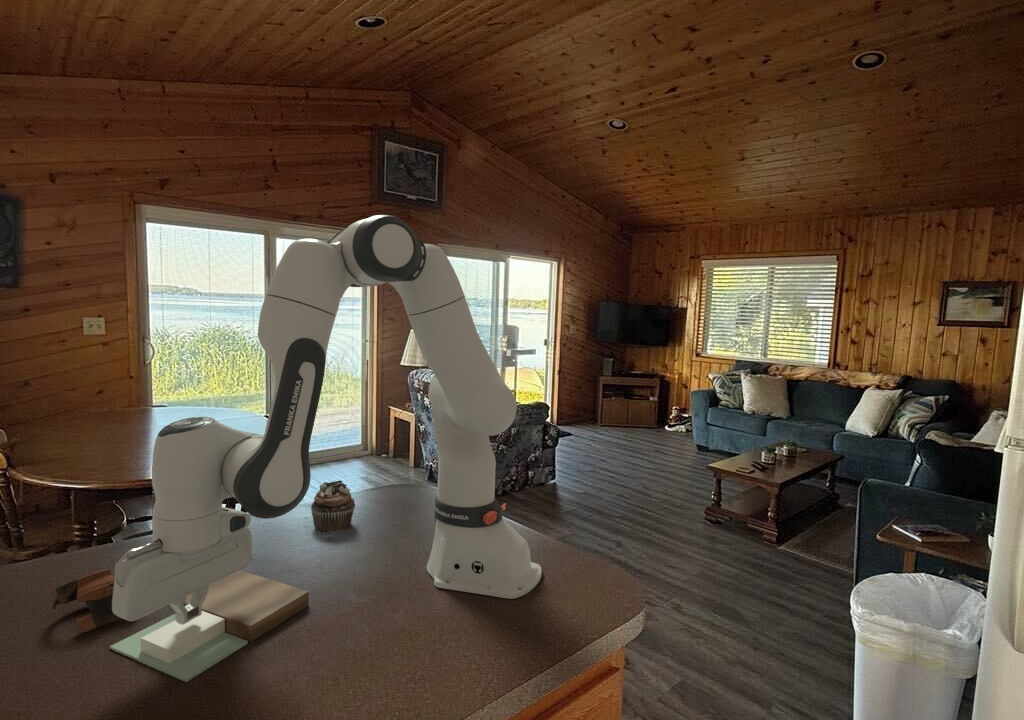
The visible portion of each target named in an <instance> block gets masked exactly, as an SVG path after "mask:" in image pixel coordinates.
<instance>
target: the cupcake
mask: <svg viewBox="0 0 1024 720" xmlns="http://www.w3.org/2000/svg"><path fill="white" fill-rule="evenodd" d="M347 486H348V485H347V484H345V483H344V482H343V481H342V480H335V481H332V482H326V481H324V482H323V483H321V484H319V487H318V488H319V491H318V492H317V493H316V494H315V495H314V497H313V502H312V504H311V507H310V510H311V516H312V521H313V526H314V529H315V530H316V531H317V530H318V531H317V532H319V531H320V533H323V532H325V533H324V534H333V533H332V532H337V533H339V532H338V531H341V532H343V531H342V530H344V531H346V530H345V529H347V528H348V529H350V528H351V526H352V519H353V514H354V512H355V508H356V504H355V499H354V498H353V497H352V494H351V491H350V487H347ZM349 527H350V528H349ZM348 529H347V530H348ZM327 532H328V533H327Z"/></svg>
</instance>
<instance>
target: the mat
mask: <svg viewBox="0 0 1024 720" xmlns="http://www.w3.org/2000/svg"><path fill="white" fill-rule="evenodd" d="M175 620H176V613H174V614H172V615H169V616H168V617H166V618H164V619H161V620H160V621H158V622H156V623H154V624H152V625H150V626H148V627H146V628H144V629H142V630H140V631H137V632H135V633H134V634H132V635H130V636H128V637H126V638H124V639H121V640H120V641H117V642H116V643H113V644H112V645H110V646H109V649H110V650H111V649H112V650H111V651H113V650H114V652H115V653H118V652H119V653H118V654H121V655H123V656H126V657H127V656H128V657H127V658H129V657H130V659H132V658H133V659H132V660H134V659H135V660H134V661H136V660H137V661H136V662H139V663H141V662H142V663H141V664H143V665H145V664H146V665H145V666H148V667H150V668H153V669H155V670H157V671H160V672H161V673H163V674H166V675H168V676H171V677H173V678H176V679H178V680H180V681H183V682H185V683H188V682H189V681H191V680H193V678H196V677H197V676H199V675H200V674H202V673H203V672H205V671H206V670H208V669H210V668H211V667H213V666H215V665H217V664H218V663H220V661H223V660H224V659H225V658H226V659H227V657H229V656H230V655H232V654H233V653H235V652H237V651H239V650H240V649H242V648H244V647H245V646H247V645H248V642H249V641H246V640H244V639H241V638H238V637H236V636H233V635H230V634H228V633H225V632H223V633H221V634H220V635H218V636H216V637H214V638H213V639H211V640H209V641H207V642H206V643H204V644H202V645H200V646H199V647H197V648H195V649H193V650H192V651H190V652H188V653H186V654H185V655H183V656H181V657H180V658H178V659H176V660H174V661H173V662H171V663H167V662H164V661H162V660H160V659H157V658H155V657H153V656H150V655H148V654H146V653H143V652H141V638H142V637H144V636H146V635H148V634H150V633H151V632H153V631H155V630H157V629H159V628H161V627H163V626H165V625H167V624H169V623H171V622H173V621H175Z"/></svg>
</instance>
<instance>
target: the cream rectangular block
mask: <svg viewBox="0 0 1024 720" xmlns="http://www.w3.org/2000/svg"><path fill="white" fill-rule="evenodd" d="M223 632H224V633H225V619H223V618H221V617H218V616H215V615H212V614H210V613H207V612H204V611H202V614H201V615H200V616H198V617H196V618H194V619H192V620H191V621H189V622H187V623H185V624H183V625H182V624H179V623H177V622H176V620H175V621H173V622H171V623H169V624H167V625H165V626H163V627H161V628H159V629H157V630H155V631H153V632H151V633H150V634H148V635H146V636H144V637H142V638H141V652H143V653H146V654H148V655H150V656H153V657H155V658H157V659H160V660H162V661H164V662H167V663H171V662H173V661H174V660H176V659H178V658H180V657H181V656H183V655H185V654H186V653H188V652H190V651H192V650H193V649H195V648H197V647H199V646H200V645H202V644H204V643H206V642H207V641H209V640H211V639H213V638H214V637H216V636H218V635H220V634H221V633H223Z"/></svg>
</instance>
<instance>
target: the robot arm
mask: <svg viewBox="0 0 1024 720" xmlns="http://www.w3.org/2000/svg"><path fill="white" fill-rule="evenodd" d="M386 283H387V284H390V285H391V286H392V287H394V289H395V290H396V291H397V293H398V295H399V296H400V298H401V301H402V303H403V306H404V309H405V312H406V315H407V318H408V320H409V323H410V325H411V329H412V331H413V334H414V336H415V340H416V342H417V345H418V347H419V350H420V353H421V355H422V357H423V359H424V360H425V361H426V362H427V364H428V366H429V367H430V368H431V369H430V370H431V371H432V373H433V374H434V377H433V378H432V379H431V381H430V384H429V386H428V395H427V396H428V400H429V402H430V405H431V408H432V409H431V410H432V418H433V426H434V435H435V440H436V448H437V456H438V457H437V458H438V463H437V464H438V468H437V470H438V471H437V472H438V473H437V495H436V496H435V498H434V499H435V502H434V521H435V529H434V536H433V542H432V547H431V551H430V555H429V559H428V562H427V564H426V571H427V573H428V574H429V575H430V576H431V577H432V579H433V581H434V582H433V583H434V587H437V588H439V589H444V590H451V591H458V592H465V593H471V594H478V595H484V596H489V597H497V598H502V599H509V600H510V599H511V600H513V599H517V598H520V597H522V596H523V597H524V596H525V595H526V594H528V593H529V592H531V591H532V590H533V589H534V588H535V587H536V586H537V585H538V584H539V582H540V580H541V578H542V575H543V574H542V567H541V565H540V564H539V563H536V562H532V560H531V559H532V558H531V550H530V546H529V543H528V542H527V540H526V539H525V538H524V537H523V536H521V534H519V533H518V531H516V530H515V529H514V528H513V527H512V526H511V525H510V524H509V523H508V522H507V521H506V520H505V519H504V518H503V512H504V511H505V510H506V509H507V508H506V506H507V503H506V502H505V503H503V504H502V505H500V503H499V502H498V501H497V498H496V496H495V491H496V489H495V488H496V487H495V486H496V467H497V465H496V464H497V461H496V456H495V453H494V451H493V448H492V446H491V441H490V437H489V436H498V435H500V434H502V433H504V432H505V431H506V430H507V429H509V428H510V427H511V426H512V423H513V421H515V417H516V415H517V414H516V413H517V409H518V408H517V405H518V404H517V401H516V397H515V394H514V393H513V392H512V390H511V389H510V388H509V387H508V385H507V384H506V383H505V382H504V380H503V378H502V376H501V374H500V372H499V371H498V369H497V367H496V365H495V363H494V362H493V360H492V358H491V356H490V354H489V352H488V351H487V349H486V347H485V345H484V343H483V341H482V339H481V337H480V335H479V333H478V330H477V328H476V325H475V322H474V319H473V316H472V314H471V310H470V307H469V304H468V301H467V298H466V296H465V295H466V294H465V293H464V290H463V287H462V284H461V283H460V280H459V277H458V276H457V273H456V271H455V269H454V267H453V265H452V263H451V261H450V259H449V258H448V256H447V254H446V253H445V251H444V250H443V249H442V248H441V247H439V246H438V245H435V244H431V243H425V242H423V241H422V240H421V239H420V238H419V237H418V235H417V233H416V232H415V230H414V229H412V227H411V226H410V225H409V224H408V223H406V222H405V220H402V219H401V218H399V217H396V216H394V215H389V214H377V215H372V216H370V217H368V218H363V219H360V220H357V221H355V222H353V223H351V224H350V225H348V227H347V228H344V229H342V230H340V231H339V232H338V233H336V234H334V236H332V238H330V239H329V240H328V241H327V242H326V241H324V240H321V239H316V238H300V239H297V240H294V241H293V242H292V243H290V244H289V245H288V247H287V248H286V250H285V252H284V253H283V255H282V257H281V259H280V260H279V262H278V265H277V266H276V268H275V270H274V273H273V275H272V277H271V280H270V282H269V284H268V287H267V290H266V293H265V296H264V299H263V302H262V306H261V309H260V313H259V314H260V315H259V318H258V319H259V320H258V326H257V338H258V341H259V343H260V346H261V348H262V349H263V350H264V352H265V354H266V355H267V357H268V358H269V360H270V362H271V365H272V367H273V371H274V375H275V387H274V388H275V389H274V391H273V392H274V393H273V397H272V401H271V405H270V410H269V414H268V417H267V421H266V425H265V429H264V434H263V435H262V434H259V433H254V432H248V431H243V430H239V429H236V428H232V427H231V426H228V425H225V424H223V423H221V422H219V421H218V420H216V419H215V418H213V417H210V416H197V417H196V416H193V417H188V418H184V419H183V418H182V419H178V420H176V421H173V422H171V423H169V424H167V425H165V426H164V427H163V428H161V430H160V431H159V432H158V433H157V435H156V438H155V441H154V446H153V451H152V463H151V466H152V467H151V468H152V469H151V486H152V488H153V491H154V493H155V494H154V495H155V500H154V505H153V508H152V541H151V542H148V543H146V544H144V545H141V546H140V547H135V548H132V549H129V550H127V551H126V552H125V554H124V555H123V556H122V557H121V558H120V559H119V560H118V562H116V563H115V566H114V576H115V582H114V586H113V598H112V611H113V613H114V614H115V615H116V616H118V617H120V618H121V619H122V620H126V621H128V622H134V621H137V620H139V619H141V618H143V617H145V616H147V615H150V614H151V613H153V612H155V611H157V610H158V611H159V610H160V609H162V608H164V607H166V606H168V605H169V606H170V608H171V609H172V610H173V611H174V612H175V614H176V622H177V623H179V624H182V625H183V624H185V623H187V622H189V621H191V620H192V619H194V618H196V617H198V616H200V615H201V614H202V604H203V602H204V600H205V598H206V596H207V594H208V592H209V585H210V584H212V583H214V582H216V581H219V580H221V579H223V578H225V577H227V576H229V575H231V574H233V573H235V572H237V571H239V570H241V571H242V570H243V569H246V568H247V567H248V566H249V564H251V563H250V562H252V559H253V536H252V531H251V529H250V528H249V526H250V524H251V521H252V520H251V516H252V517H254V518H259V519H275V518H278V517H281V516H283V515H286V514H287V513H289V512H291V511H292V510H294V509H295V508H296V507H297V506H299V504H300V503H301V502H302V501H303V499H304V497H306V495H307V493H308V491H309V488H310V484H311V479H312V478H311V476H312V475H311V465H310V464H311V463H310V446H311V445H310V444H311V438H312V434H313V429H314V426H315V422H316V421H315V420H316V417H317V412H318V406H319V402H320V399H321V394H322V388H323V385H324V384H323V382H324V377H325V370H326V362H327V361H326V360H327V353H328V352H327V351H328V348H329V343H330V338H331V336H332V335H331V334H332V331H333V328H334V324H335V321H336V317H337V313H338V312H339V311H338V310H339V307H340V303H341V299H342V298H343V297H344V294H346V293H345V292H346V290H348V288H364V287H377V286H378V287H379V286H382V285H384V284H386ZM230 498H234V499H235V500H236V501H237V502H238V503H239V505H240V506H241V507H242V509H243V510H244V511H245V512H244V511H241V510H237V509H235V508H231V507H230V508H229V507H225V506H224V507H223V502H224V501H225V500H226V499H230ZM191 593H193V596H192V598H191V601H190V604H188V605H186V606H184V605H183V603H185V602H186V596H187V595H189V594H191Z"/></svg>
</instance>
